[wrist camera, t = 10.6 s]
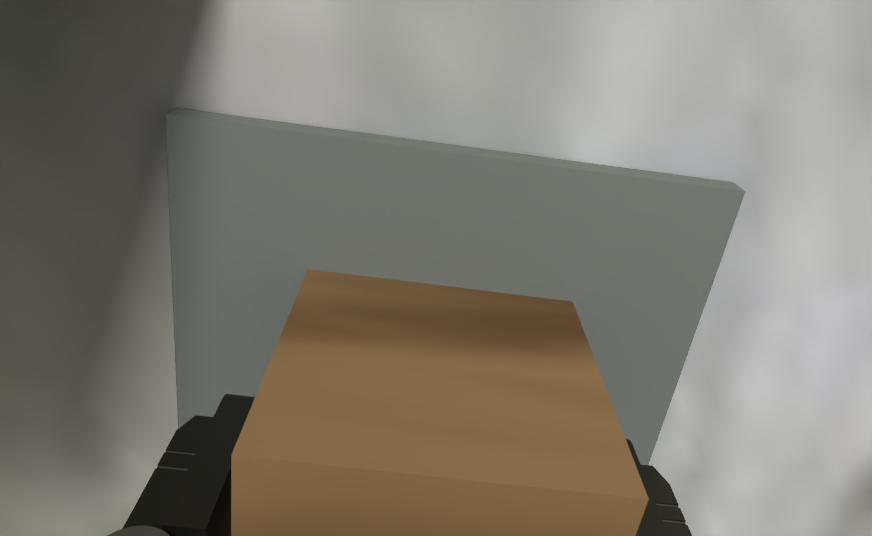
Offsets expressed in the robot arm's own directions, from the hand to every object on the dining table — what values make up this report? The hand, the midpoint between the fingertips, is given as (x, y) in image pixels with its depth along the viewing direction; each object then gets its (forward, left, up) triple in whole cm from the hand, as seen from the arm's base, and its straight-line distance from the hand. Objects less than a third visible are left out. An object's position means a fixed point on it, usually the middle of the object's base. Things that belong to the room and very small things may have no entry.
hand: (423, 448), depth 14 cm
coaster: (0, 0, -3) cm, 3 cm away
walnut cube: (0, 0, -2) cm, 2 cm away
